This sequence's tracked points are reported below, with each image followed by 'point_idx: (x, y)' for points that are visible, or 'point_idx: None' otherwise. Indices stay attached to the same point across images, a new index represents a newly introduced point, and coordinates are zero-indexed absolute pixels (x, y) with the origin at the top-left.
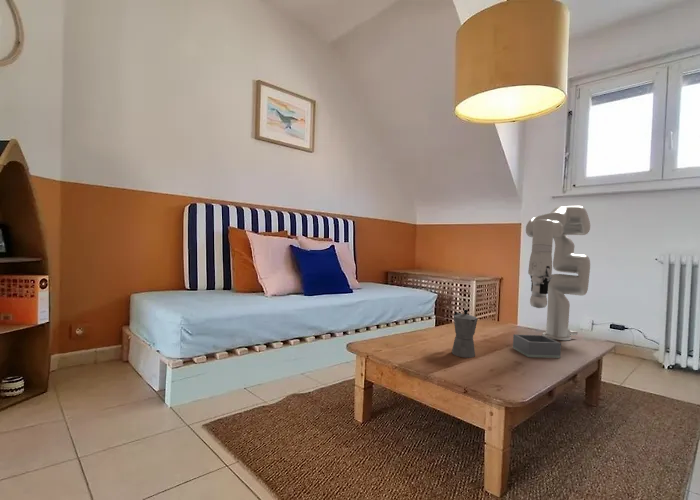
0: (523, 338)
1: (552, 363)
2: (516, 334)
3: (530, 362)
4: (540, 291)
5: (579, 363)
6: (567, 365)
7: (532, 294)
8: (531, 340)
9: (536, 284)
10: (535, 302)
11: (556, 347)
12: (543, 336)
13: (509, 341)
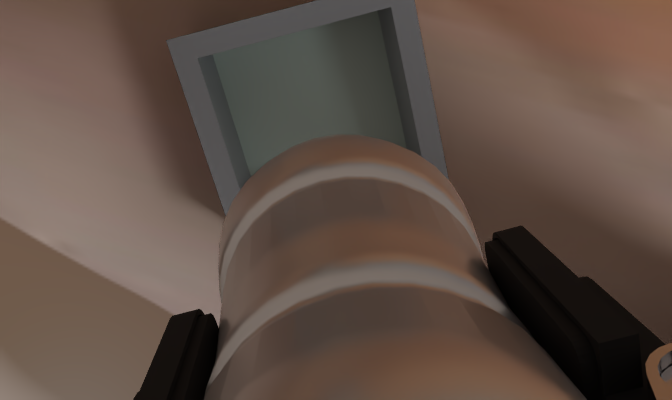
0: (281, 27)
1: (108, 156)
2: (414, 3)
3: (61, 17)
4: (163, 340)
5: (183, 307)
6: (107, 231)
7: (328, 192)
8: (408, 121)
9: (233, 366)
10: (244, 187)
11: None
12: None
13: (579, 7)
